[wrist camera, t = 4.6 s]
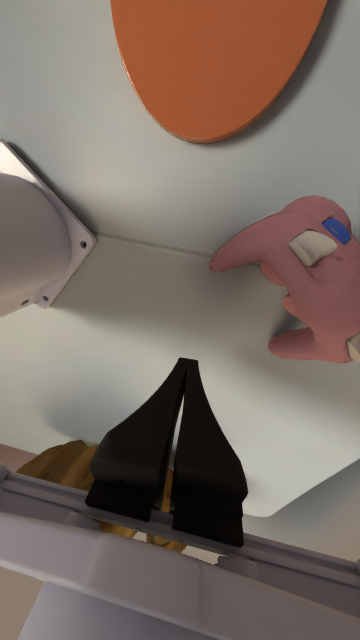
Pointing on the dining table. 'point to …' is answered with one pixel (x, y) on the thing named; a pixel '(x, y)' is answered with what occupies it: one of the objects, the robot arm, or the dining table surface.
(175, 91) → the terracotta coaster
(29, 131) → the dining table surface
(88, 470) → the brown looped sculpture
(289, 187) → the dining table surface
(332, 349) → the video game controller
